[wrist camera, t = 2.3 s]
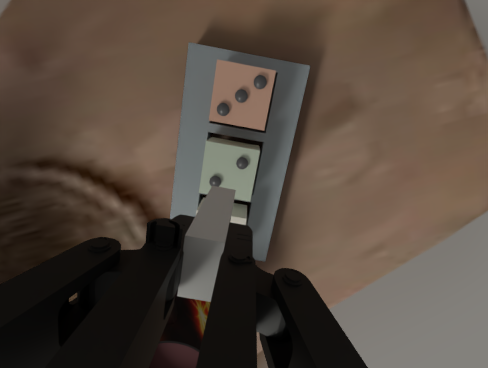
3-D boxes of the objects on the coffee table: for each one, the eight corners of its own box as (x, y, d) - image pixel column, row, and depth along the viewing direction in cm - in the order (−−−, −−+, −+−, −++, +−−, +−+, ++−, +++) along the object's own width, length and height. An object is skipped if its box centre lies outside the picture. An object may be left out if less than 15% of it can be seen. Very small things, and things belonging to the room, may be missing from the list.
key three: (214, 119, 29) (208, 120, 24) (221, 67, 27) (216, 58, 23) (262, 128, 29) (264, 130, 24) (272, 76, 27) (276, 70, 23)
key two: (205, 182, 31) (198, 193, 26) (211, 136, 29) (205, 141, 25) (250, 190, 31) (250, 202, 26) (258, 145, 29) (260, 151, 25)
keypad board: (172, 235, 35) (167, 244, 33) (193, 48, 29) (188, 42, 26) (264, 251, 36) (265, 261, 33) (305, 69, 29) (310, 65, 27)
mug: (184, 235, 35) (153, 295, 24) (240, 304, 38) (236, 387, 27) (132, 268, 37) (79, 339, 25) (189, 332, 40) (164, 421, 28)
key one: (197, 237, 33) (189, 256, 28) (203, 197, 31) (195, 211, 27) (239, 244, 33) (237, 264, 28) (247, 205, 31) (246, 219, 27)
